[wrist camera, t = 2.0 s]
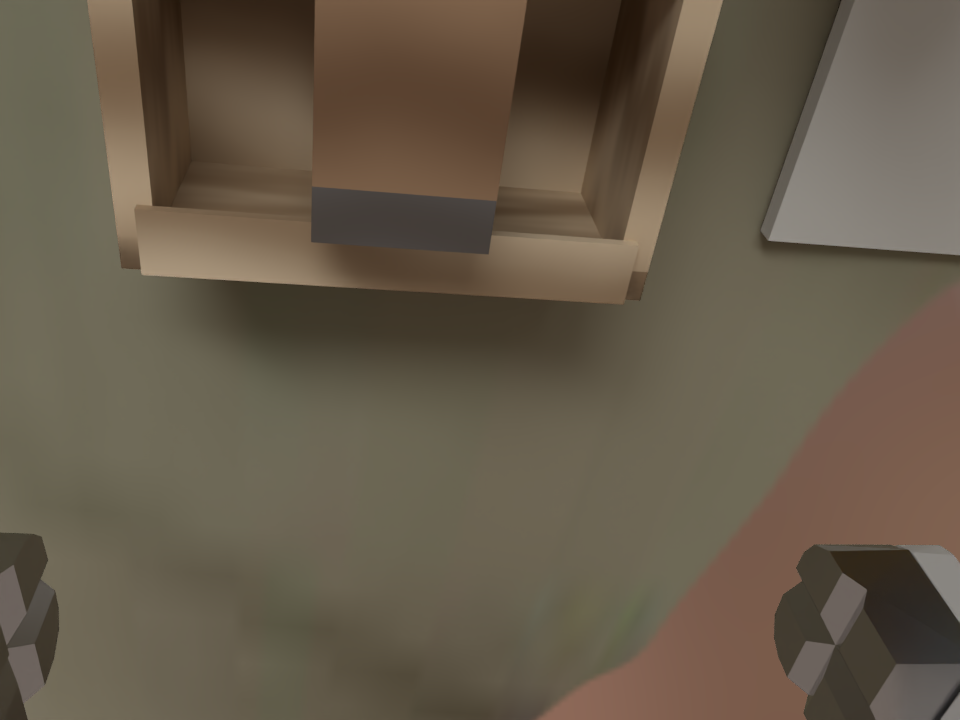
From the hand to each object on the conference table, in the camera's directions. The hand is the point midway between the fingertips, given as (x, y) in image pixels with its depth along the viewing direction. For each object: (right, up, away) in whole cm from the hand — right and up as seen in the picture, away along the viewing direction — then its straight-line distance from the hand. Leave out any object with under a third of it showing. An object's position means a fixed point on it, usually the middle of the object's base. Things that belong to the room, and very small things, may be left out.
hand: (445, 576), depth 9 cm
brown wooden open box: (-2, +13, +17) cm, 22 cm away
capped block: (-2, +12, +17) cm, 21 cm away
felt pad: (+17, +12, +20) cm, 29 cm away
